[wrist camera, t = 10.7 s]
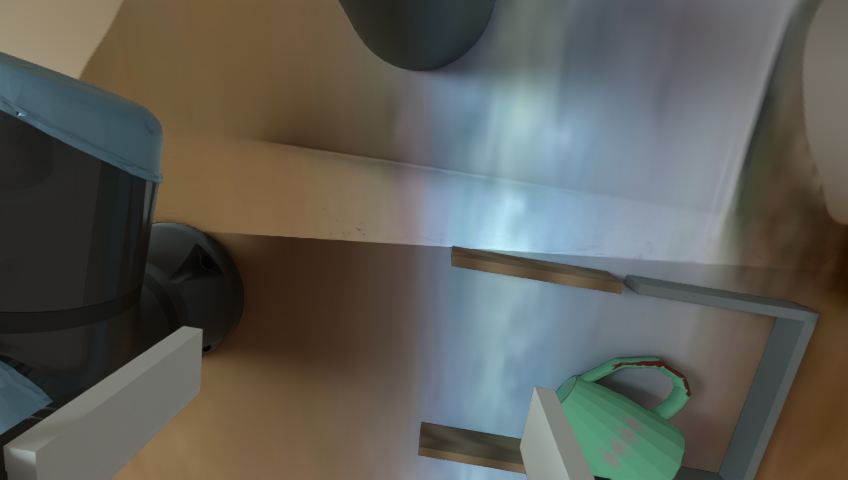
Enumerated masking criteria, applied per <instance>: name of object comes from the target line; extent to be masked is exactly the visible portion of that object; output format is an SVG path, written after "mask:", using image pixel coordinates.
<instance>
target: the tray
mask: <svg viewBox="0 0 848 480" xmlns="http://www.w3.org/2000/svg"><path fill="white" fill-rule="evenodd" d="M624 284H625V285H626V286H628V287H629V288H630V289H632V290H633V291H634V292H636V293H637V294H641V295H647V296H653V297H660V298H666V299H672V300H678V301H684V302H690V303H696V304H702V305H708V306H714V307H720V308H726V309H732V310H738V311H744V312H750V313H756V314H762V315H768V316H774V317H777V319H776V322H775V325H774V327H773V330H772V333H771V335H770V338H769V341H768V343H767V346H766V349H765V351H764V354H763V356H762V359H761V362H760V364H759V367H758V370H757V372H756V375H755V378H754V380H753V383H752V386H751V388H750V391H749V394H748V396H747V399H746V402H745V404H744V407H743V410H742V412H741V415H740V418H739V420H738V423H737V425H736V428H735V431H734V433H733V436H732V439H731V441H730V444H729V447H728V449H727V452H726V455H725V457H724V460H723V463H722V465H721V468H720V471H719V473H714V472H708V471H702V470H696V469H691V468H685V467H680V469H679V470H678V472H677V474H676V476H675V478H674V479H673V480H754V477H755V475H756V472H757V470H758V467H759V465H760V462H761V460H762V457H763V455H764V452H765V450H766V447H767V445H768V442H769V440H770V437H771V435H772V432H773V430H774V427H775V425H776V422H777V420H778V417H779V415H780V412H781V410H782V407H783V405H784V402H785V400H786V397H787V395H788V392H789V390H790V387H791V385H792V382H793V380H794V377H795V375H796V372H797V370H798V367H799V365H800V363H801V360H802V358H803V355H804V353H805V350H806V348H807V345H808V343H809V340H810V338H811V335H812V333H813V330H814V328H815V325H816V323H817V320H818V318H819V315H820V313H817V312H815V311H813V310H810V309H808V308H806V307H804V306H801V305H799V304H797V303H794V302H790V301H784V300H778V299H772V298H766V297H760V296H753V295H747V294H741V293H735V292H729V291H723V290H717V289H711V288H705V287H699V286H693V285H687V284H681V283H674V282H668V281H662V280H656V279H650V278H644V277H638V276H632V275H627V276H626V279H625V283H624Z"/></svg>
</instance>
